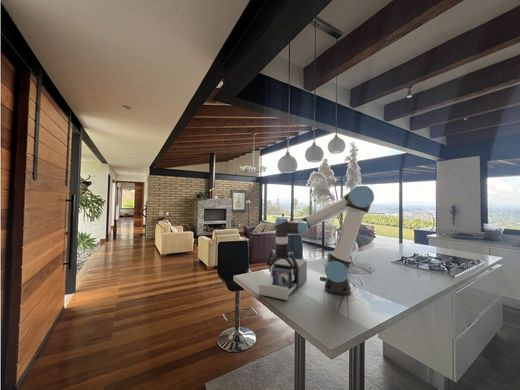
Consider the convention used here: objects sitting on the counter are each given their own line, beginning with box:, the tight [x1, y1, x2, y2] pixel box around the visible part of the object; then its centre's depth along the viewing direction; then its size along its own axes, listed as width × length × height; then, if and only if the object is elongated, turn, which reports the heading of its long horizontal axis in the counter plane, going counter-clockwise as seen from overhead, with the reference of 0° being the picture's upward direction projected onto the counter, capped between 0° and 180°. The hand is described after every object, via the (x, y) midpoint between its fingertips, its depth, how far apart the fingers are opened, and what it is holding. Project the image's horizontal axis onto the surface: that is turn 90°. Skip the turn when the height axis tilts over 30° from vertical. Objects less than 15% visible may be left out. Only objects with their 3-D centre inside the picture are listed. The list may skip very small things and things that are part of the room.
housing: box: [272, 257, 308, 290], centre depth 148 cm, size 17×18×14 cm
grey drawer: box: [258, 281, 297, 301], centre depth 130 cm, size 17×21×6 cm
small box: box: [272, 268, 292, 289], centre depth 133 cm, size 11×6×10 cm, turn 64°
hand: (282, 278), depth 133 cm, fingers open, 13 cm apart
